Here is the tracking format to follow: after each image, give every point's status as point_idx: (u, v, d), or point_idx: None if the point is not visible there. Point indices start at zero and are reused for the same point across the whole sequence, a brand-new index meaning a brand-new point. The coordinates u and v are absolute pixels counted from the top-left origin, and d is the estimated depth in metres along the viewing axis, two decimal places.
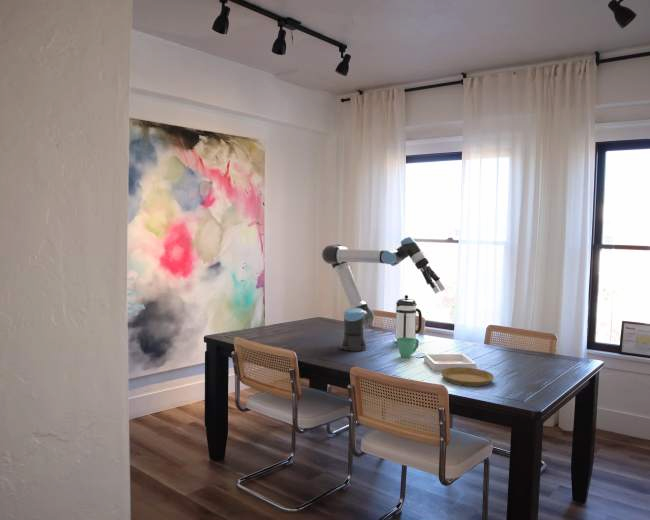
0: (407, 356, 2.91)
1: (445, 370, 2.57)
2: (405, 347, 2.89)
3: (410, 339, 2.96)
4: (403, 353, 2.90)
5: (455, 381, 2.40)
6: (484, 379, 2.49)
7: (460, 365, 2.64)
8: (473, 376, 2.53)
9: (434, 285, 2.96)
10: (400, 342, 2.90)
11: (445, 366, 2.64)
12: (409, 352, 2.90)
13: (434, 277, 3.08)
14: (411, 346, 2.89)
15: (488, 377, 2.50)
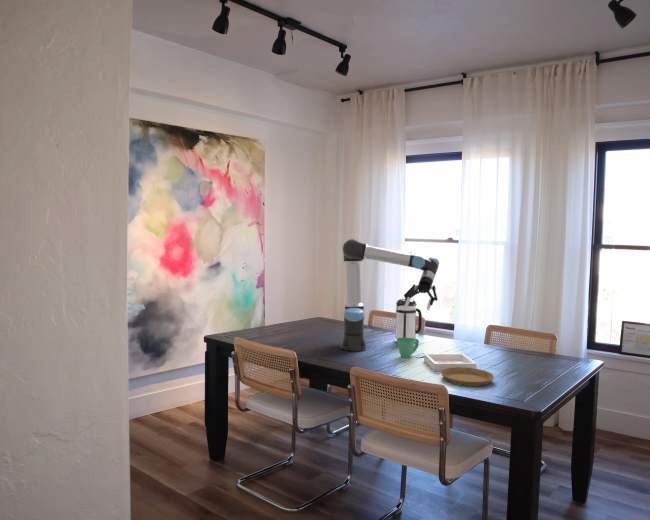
0: (407, 356, 2.91)
1: (445, 370, 2.57)
2: (405, 347, 2.89)
3: (410, 339, 2.96)
4: (403, 353, 2.90)
5: (455, 381, 2.40)
6: (484, 379, 2.49)
7: (460, 365, 2.64)
8: (473, 376, 2.53)
9: None
10: (400, 342, 2.90)
11: (445, 366, 2.64)
12: (409, 352, 2.90)
13: (412, 295, 3.10)
14: (411, 346, 2.89)
15: (488, 377, 2.50)
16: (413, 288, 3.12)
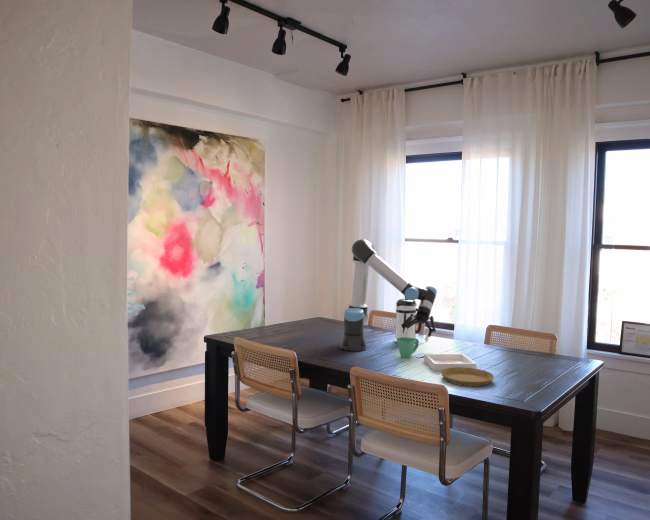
0: (407, 356, 2.91)
1: (445, 370, 2.57)
2: (405, 347, 2.89)
3: (410, 339, 2.96)
4: (403, 353, 2.90)
5: (455, 381, 2.40)
6: (484, 379, 2.49)
7: (460, 365, 2.64)
8: (473, 376, 2.53)
9: None
10: (400, 342, 2.90)
11: (445, 366, 2.64)
12: (409, 352, 2.90)
13: (409, 325, 3.05)
14: (411, 346, 2.89)
15: (488, 377, 2.50)
16: (411, 318, 3.08)
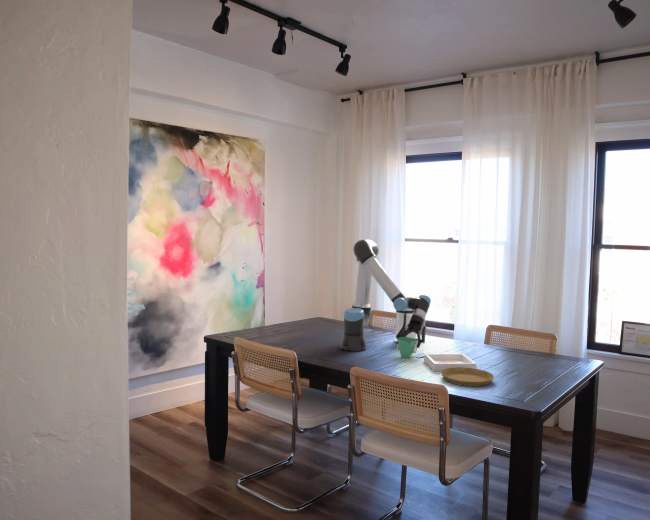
0: (407, 356, 2.91)
1: (445, 370, 2.57)
2: (406, 347, 2.88)
3: (411, 339, 2.96)
4: (403, 353, 2.90)
5: (455, 381, 2.40)
6: (484, 379, 2.49)
7: (460, 365, 2.64)
8: (473, 376, 2.53)
9: None
10: (401, 342, 2.89)
11: (445, 366, 2.64)
12: (409, 352, 2.90)
13: (404, 336, 2.99)
14: (412, 346, 2.89)
15: (488, 377, 2.50)
16: (404, 328, 3.02)
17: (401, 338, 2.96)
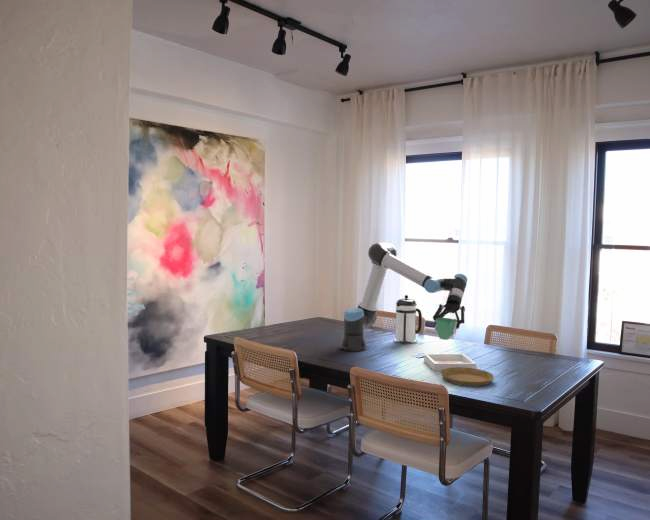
0: (446, 338, 2.72)
1: (445, 370, 2.57)
2: (445, 328, 2.70)
3: (449, 320, 2.78)
4: (442, 334, 2.72)
5: (455, 381, 2.40)
6: (484, 379, 2.49)
7: (460, 365, 2.64)
8: (473, 376, 2.53)
9: None
10: (440, 323, 2.71)
11: (445, 366, 2.64)
12: (449, 333, 2.72)
13: (441, 317, 2.81)
14: (451, 327, 2.71)
15: (488, 377, 2.50)
16: (441, 308, 2.84)
17: (439, 319, 2.78)
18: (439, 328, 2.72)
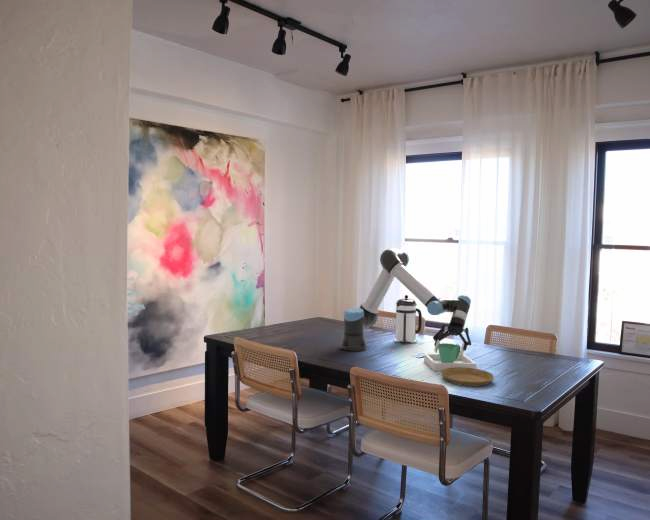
0: None
1: (445, 370, 2.57)
2: (447, 354, 2.69)
3: (451, 345, 2.76)
4: (445, 360, 2.70)
5: (455, 381, 2.40)
6: (484, 379, 2.49)
7: (460, 365, 2.64)
8: (473, 376, 2.53)
9: None
10: (442, 348, 2.69)
11: (445, 366, 2.64)
12: (451, 359, 2.70)
13: (442, 338, 2.80)
14: (454, 353, 2.69)
15: (488, 377, 2.50)
16: (443, 329, 2.83)
17: (441, 345, 2.77)
18: (442, 354, 2.70)
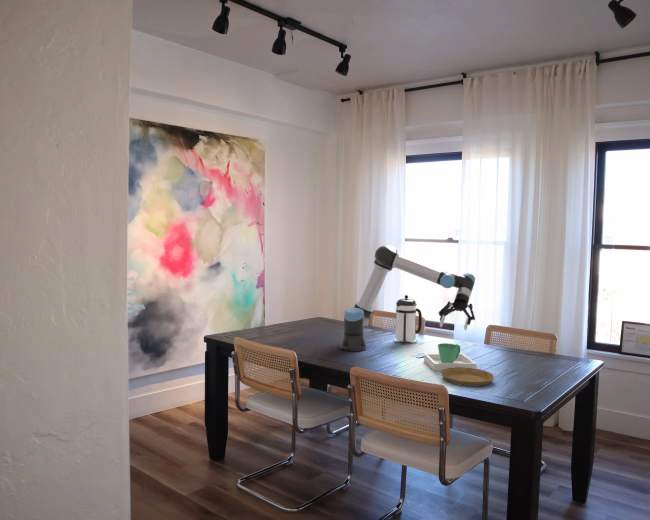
0: None
1: (445, 370, 2.57)
2: (447, 354, 2.69)
3: (451, 345, 2.76)
4: (445, 360, 2.70)
5: (455, 381, 2.40)
6: (484, 379, 2.49)
7: (460, 365, 2.64)
8: (473, 376, 2.53)
9: None
10: (442, 348, 2.69)
11: (445, 366, 2.64)
12: (451, 359, 2.70)
13: (447, 313, 2.94)
14: (454, 353, 2.69)
15: (488, 377, 2.50)
16: (448, 305, 2.96)
17: (441, 345, 2.77)
18: (442, 354, 2.70)
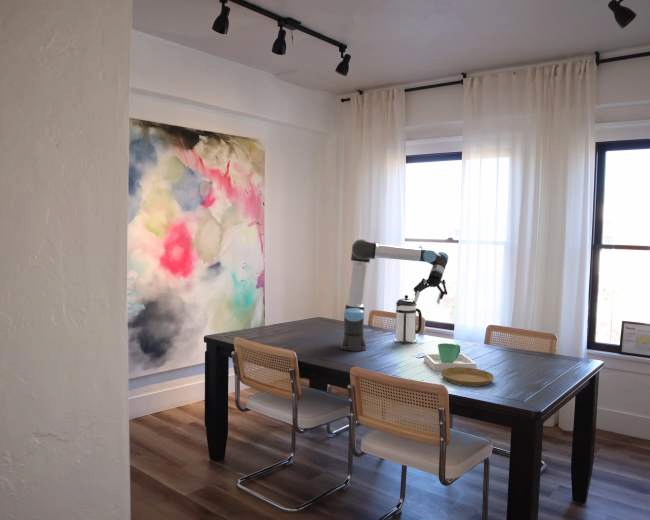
0: None
1: (445, 370, 2.57)
2: (447, 354, 2.69)
3: (451, 345, 2.76)
4: (445, 360, 2.70)
5: (455, 381, 2.40)
6: (484, 379, 2.49)
7: (460, 365, 2.64)
8: (473, 376, 2.53)
9: None
10: (442, 348, 2.69)
11: (445, 366, 2.64)
12: (451, 359, 2.70)
13: (421, 289, 3.11)
14: (454, 353, 2.69)
15: (488, 377, 2.50)
16: (423, 282, 3.13)
17: (441, 345, 2.77)
18: (442, 354, 2.70)
